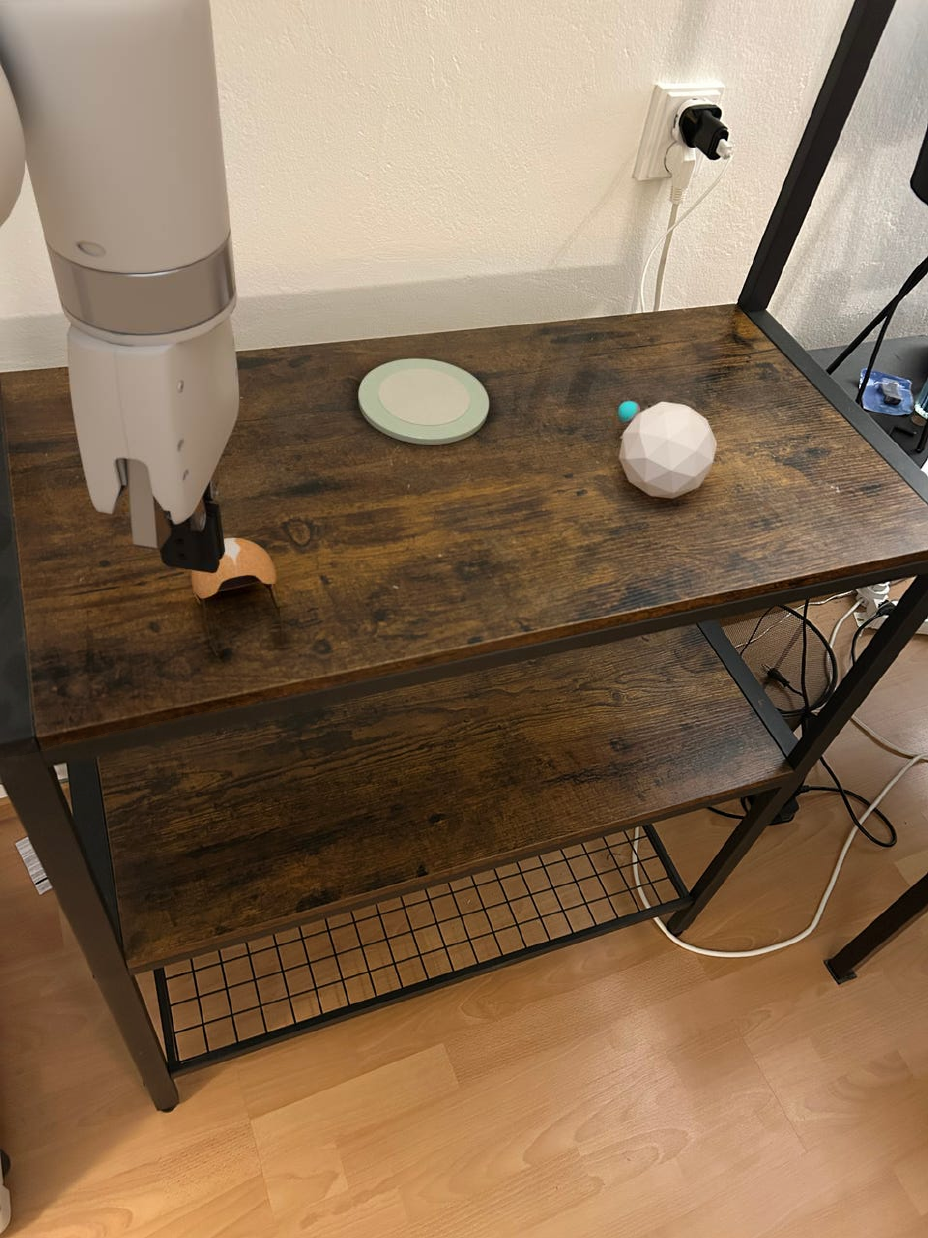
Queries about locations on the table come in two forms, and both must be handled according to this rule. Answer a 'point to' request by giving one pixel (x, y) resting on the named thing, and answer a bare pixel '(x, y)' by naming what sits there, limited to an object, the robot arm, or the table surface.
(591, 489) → the table surface
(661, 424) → the perfume bottle
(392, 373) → the plate
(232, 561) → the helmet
